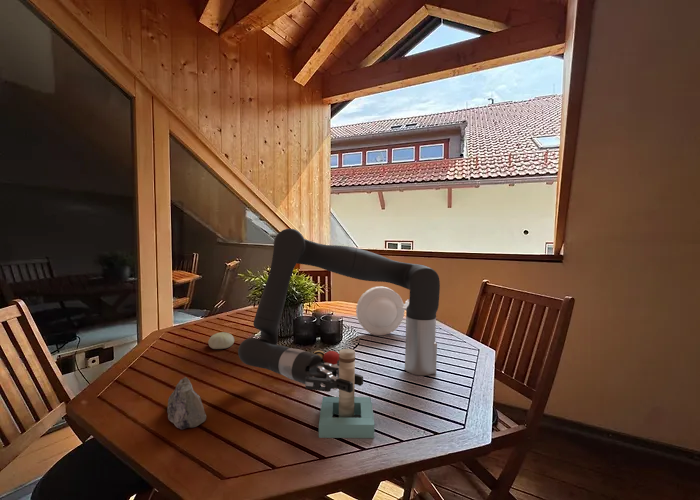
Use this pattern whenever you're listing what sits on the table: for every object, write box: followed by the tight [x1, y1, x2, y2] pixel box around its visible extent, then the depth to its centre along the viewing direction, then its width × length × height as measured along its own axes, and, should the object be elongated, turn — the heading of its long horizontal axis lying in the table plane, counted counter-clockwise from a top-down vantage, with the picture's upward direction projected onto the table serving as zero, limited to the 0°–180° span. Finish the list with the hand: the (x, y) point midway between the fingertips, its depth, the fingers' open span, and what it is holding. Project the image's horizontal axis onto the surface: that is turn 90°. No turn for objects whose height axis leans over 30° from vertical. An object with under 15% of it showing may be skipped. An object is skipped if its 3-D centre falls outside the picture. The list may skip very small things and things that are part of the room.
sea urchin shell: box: [207, 331, 235, 350], centre depth 132 cm, size 9×8×8 cm
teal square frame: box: [318, 396, 375, 439], centre depth 83 cm, size 12×12×3 cm
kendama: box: [313, 350, 339, 365], centre depth 112 cm, size 8×6×18 cm
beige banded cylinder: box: [338, 348, 356, 418], centre depth 82 cm, size 4×4×16 cm
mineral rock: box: [167, 376, 207, 430], centre depth 85 cm, size 13×11×10 cm
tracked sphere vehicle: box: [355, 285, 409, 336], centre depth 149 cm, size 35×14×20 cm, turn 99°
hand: (357, 384), depth 81 cm, fingers closed on beige banded cylinder, 3 cm apart
